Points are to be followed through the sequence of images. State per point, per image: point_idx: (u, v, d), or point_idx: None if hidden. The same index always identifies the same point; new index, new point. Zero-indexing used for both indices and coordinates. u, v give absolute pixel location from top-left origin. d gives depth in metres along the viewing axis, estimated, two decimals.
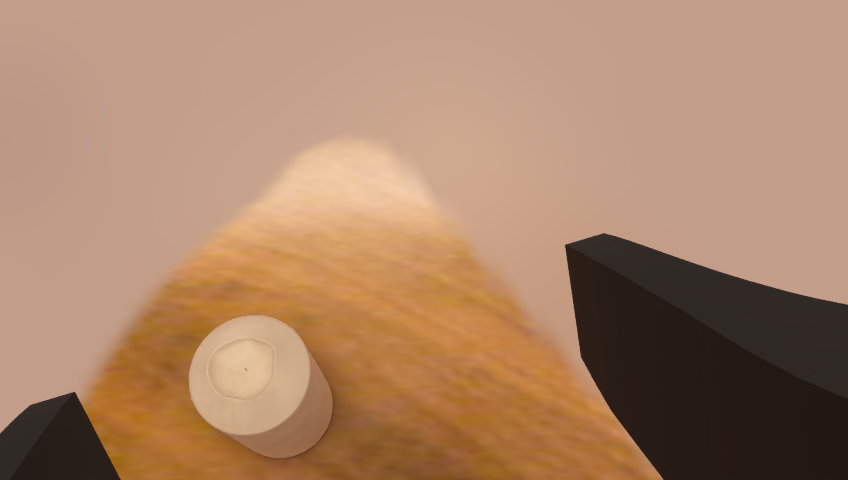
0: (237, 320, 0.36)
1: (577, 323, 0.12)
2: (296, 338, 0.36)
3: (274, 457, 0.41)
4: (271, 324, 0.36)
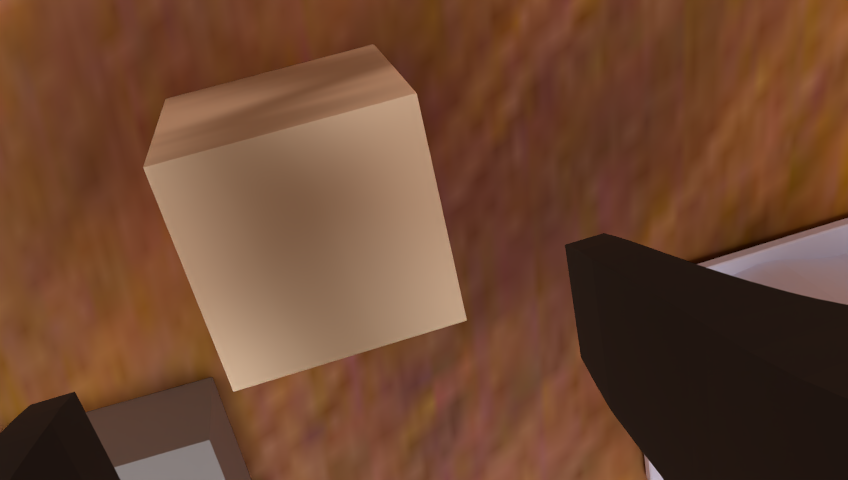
0: None
1: (577, 323, 0.12)
2: None
3: None
4: None
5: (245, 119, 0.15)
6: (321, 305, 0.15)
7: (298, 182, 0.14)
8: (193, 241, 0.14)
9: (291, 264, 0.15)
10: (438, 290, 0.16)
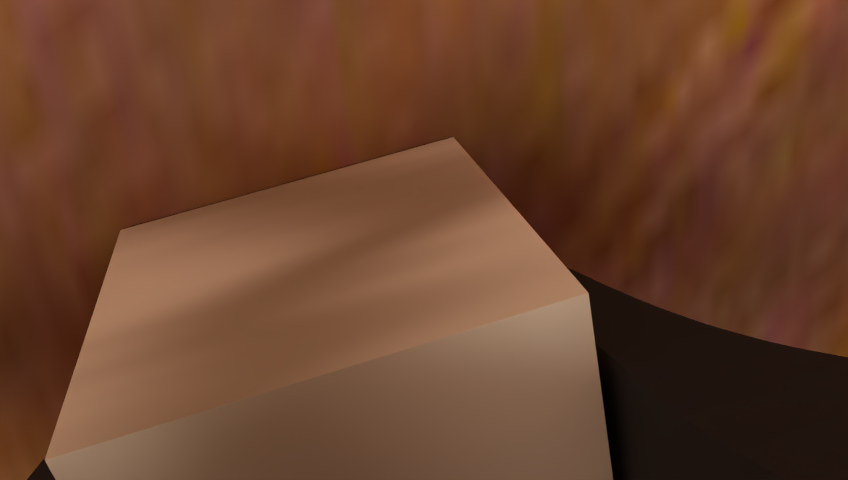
0: None
1: None
2: None
3: None
4: None
5: (252, 319, 0.08)
6: None
7: (355, 460, 0.07)
8: None
9: None
10: None
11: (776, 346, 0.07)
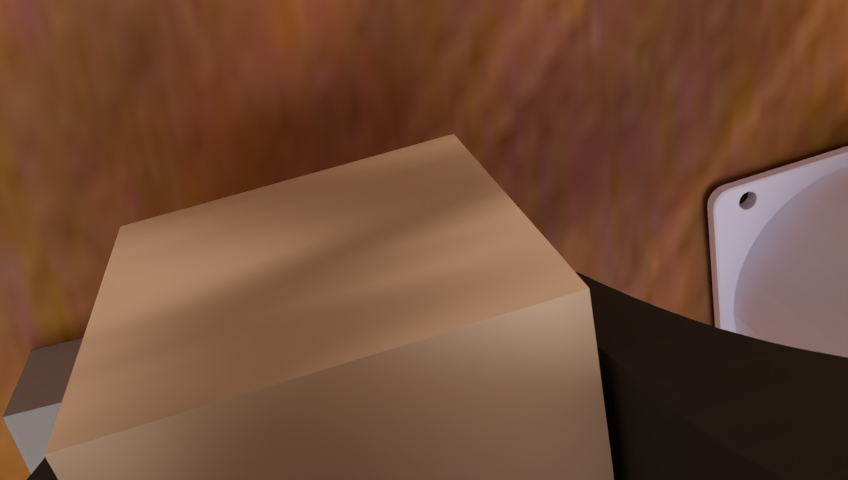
0: None
1: None
2: None
3: None
4: None
5: (252, 314, 0.08)
6: None
7: (355, 457, 0.07)
8: None
9: None
10: None
11: (776, 346, 0.07)
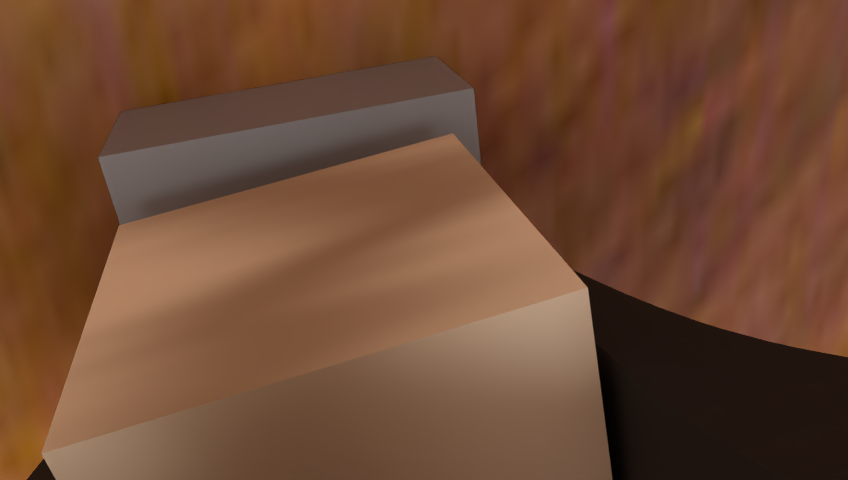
0: None
1: None
2: None
3: None
4: None
5: (249, 314, 0.08)
6: None
7: (353, 456, 0.07)
8: None
9: None
10: None
11: (776, 346, 0.07)
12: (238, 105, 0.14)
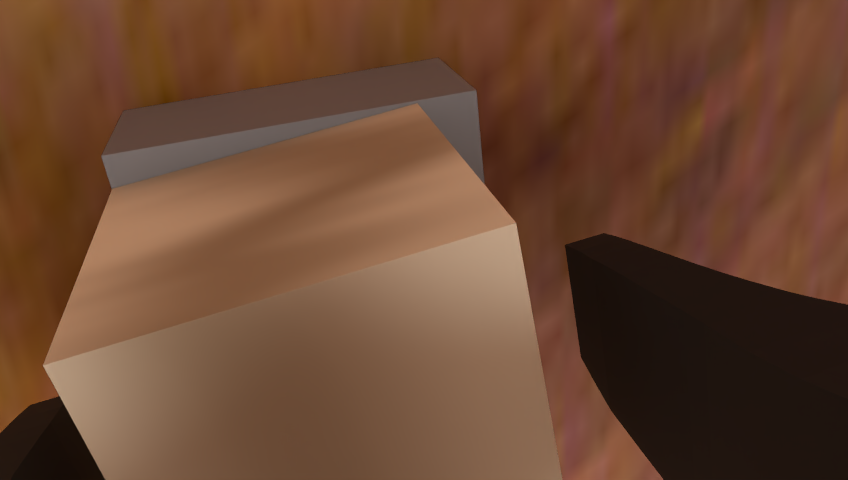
0: None
1: (577, 323, 0.12)
2: None
3: None
4: None
5: (226, 254, 0.09)
6: None
7: (314, 372, 0.08)
8: (140, 471, 0.09)
9: None
10: None
11: None
12: (241, 105, 0.14)
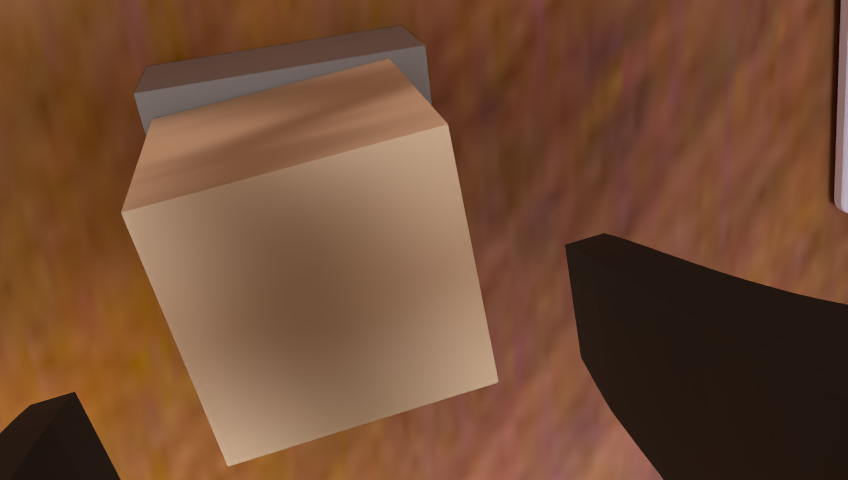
0: None
1: (577, 323, 0.12)
2: None
3: None
4: None
5: (243, 150, 0.13)
6: (331, 368, 0.13)
7: (306, 229, 0.12)
8: (181, 297, 0.12)
9: (297, 322, 0.13)
10: (467, 349, 0.14)
11: None
12: (241, 59, 0.17)
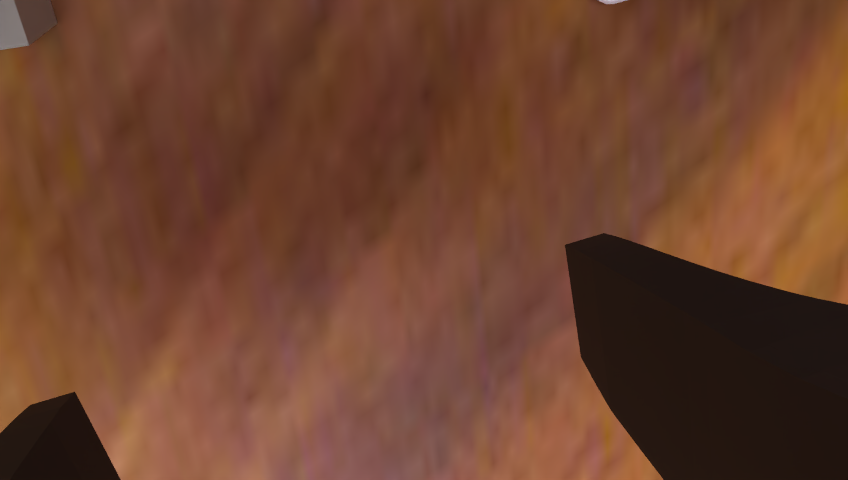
0: None
1: (577, 323, 0.12)
2: None
3: None
4: None
5: None
6: None
7: None
8: None
9: None
10: None
11: None
12: None
